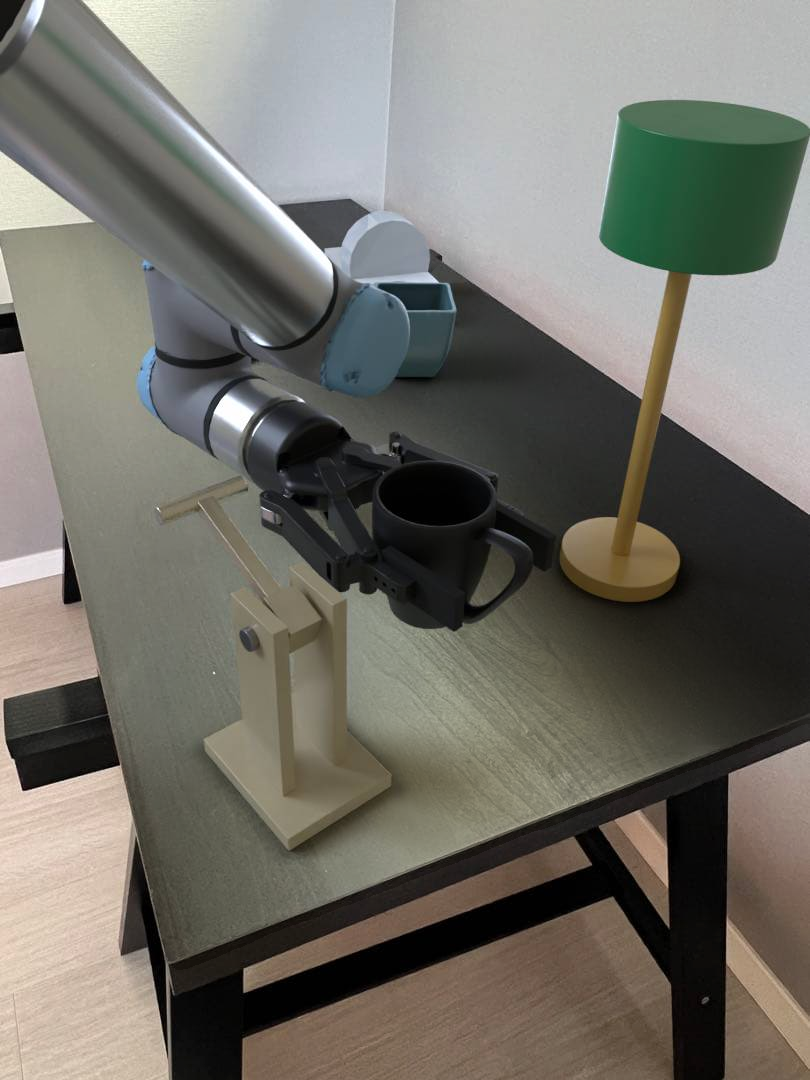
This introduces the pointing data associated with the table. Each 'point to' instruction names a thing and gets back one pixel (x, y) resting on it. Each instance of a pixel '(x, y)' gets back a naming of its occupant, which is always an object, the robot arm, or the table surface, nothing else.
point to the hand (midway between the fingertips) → (506, 581)
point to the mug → (444, 531)
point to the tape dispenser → (383, 250)
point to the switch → (246, 558)
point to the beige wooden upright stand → (295, 719)
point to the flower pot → (425, 324)
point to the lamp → (680, 279)
